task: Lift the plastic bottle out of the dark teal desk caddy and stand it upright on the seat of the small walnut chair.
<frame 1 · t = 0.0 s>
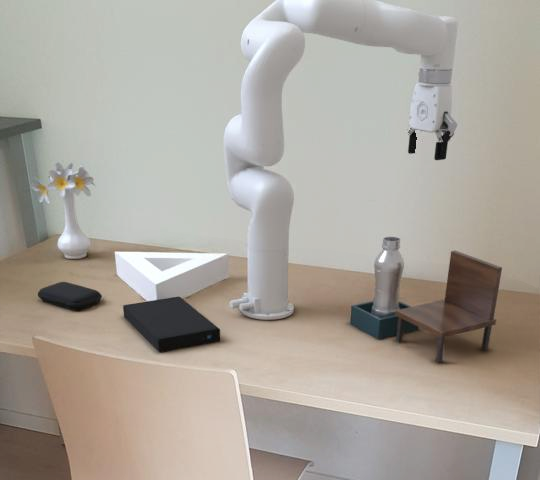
hand: (426, 156, 191), 31 cm above the table, tool pointing down, fingers open, 9 cm apart
carrying case: (72, 301, 193), on the table
triangle block: (155, 284, 205), on the table
caddy: (383, 326, 180), on the table
external hard drive: (170, 330, 178), on the table
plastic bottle: (383, 327, 180), resting in caddy
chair: (441, 345, 171), on the table
flower vase: (75, 257, 224), on the table
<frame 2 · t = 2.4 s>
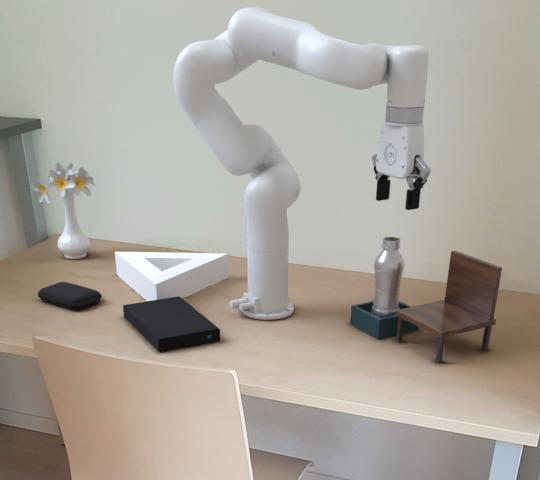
hand: (396, 204, 166), 27 cm above the table, tool pointing down, fingers open, 9 cm apart
nothing on the table moved.
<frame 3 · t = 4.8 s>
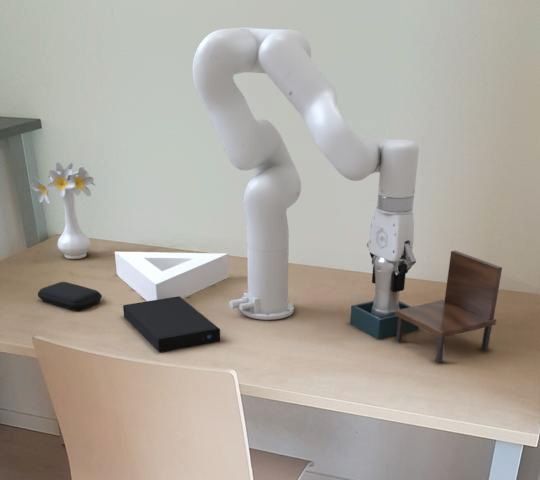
hand: (387, 285, 175), 10 cm above the table, tool pointing down, fingers closed on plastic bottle, 6 cm apart
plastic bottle: (383, 327, 180), resting in caddy, touching gripper
everything else where it was.
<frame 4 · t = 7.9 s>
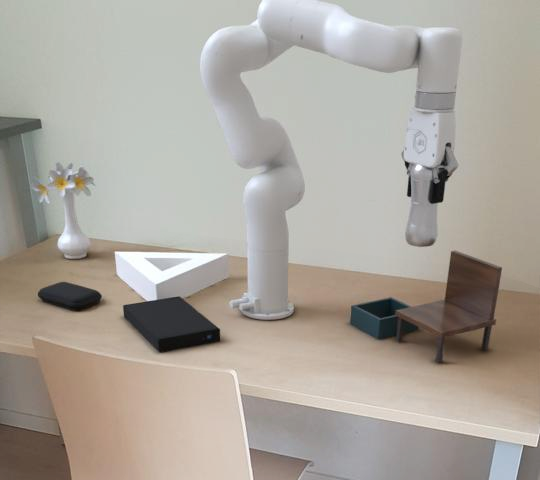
hand: (424, 198, 160), 30 cm above the table, tool pointing down, fingers closed on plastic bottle, 6 cm apart
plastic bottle: (419, 246, 165), point 20 cm above the table, touching gripper
everything else where it was.
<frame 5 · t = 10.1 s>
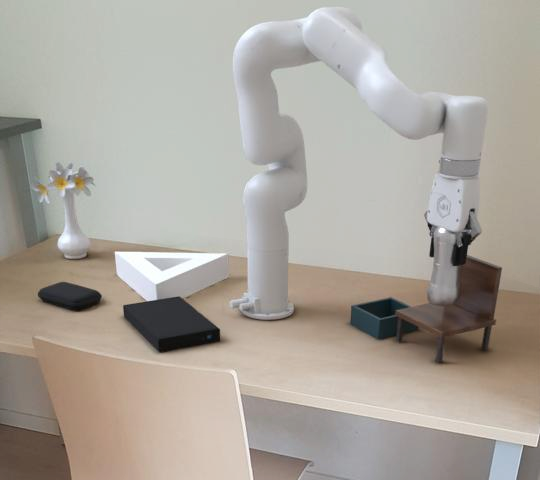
hand: (447, 259, 160), 19 cm above the table, tool pointing down, fingers closed on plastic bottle, 6 cm apart
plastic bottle: (441, 305, 166), point 9 cm above the table, touching gripper
everything else where it was.
when the fingers open (17 cm above the table, at t = 11.4 s): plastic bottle stays where it is, resting on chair.
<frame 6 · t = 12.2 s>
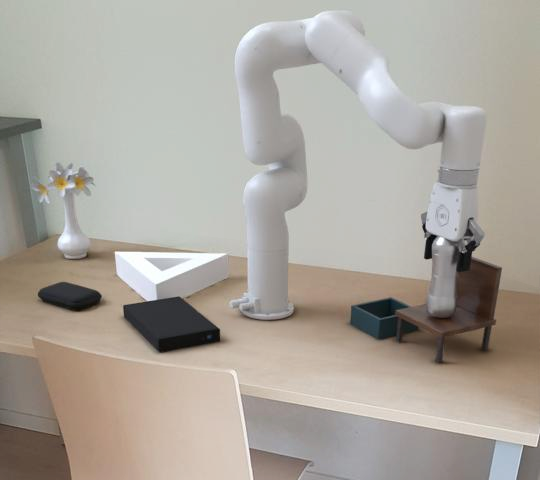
hand: (446, 264, 161), 18 cm above the table, tool pointing down, fingers open, 9 cm apart
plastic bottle: (439, 316, 167), point 7 cm above the table, touching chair
everything else where it was.
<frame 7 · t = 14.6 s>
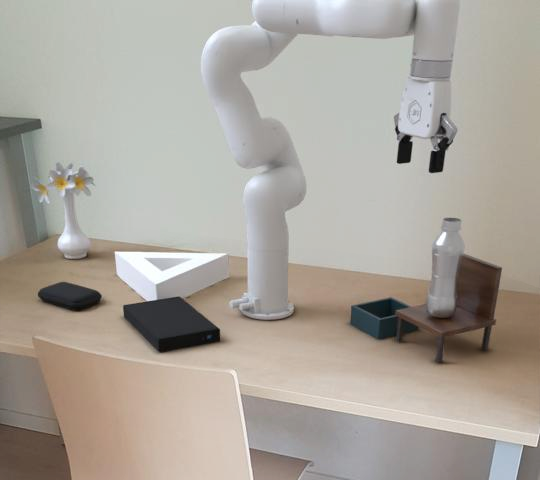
hand: (419, 167, 155), 36 cm above the table, tool pointing down, fingers open, 9 cm apart
nothing on the table moved.
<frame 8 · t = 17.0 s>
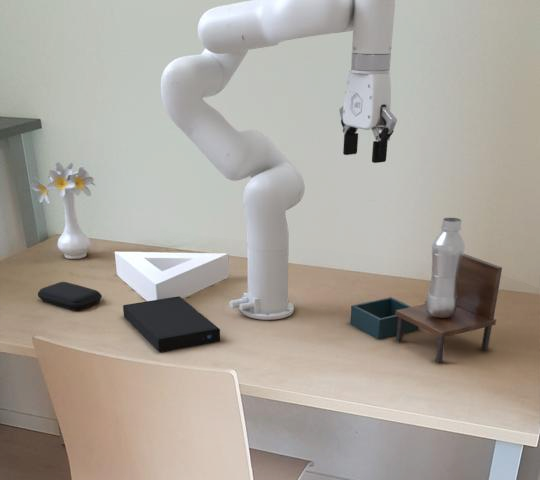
hand: (364, 158, 161), 36 cm above the table, tool pointing down, fingers open, 9 cm apart
nothing on the table moved.
at the end: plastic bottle inside the target area on the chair (1.0 cm from its centre), point 6.8 cm above the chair's base; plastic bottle tilted 0°; the gripper is holding nothing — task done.
